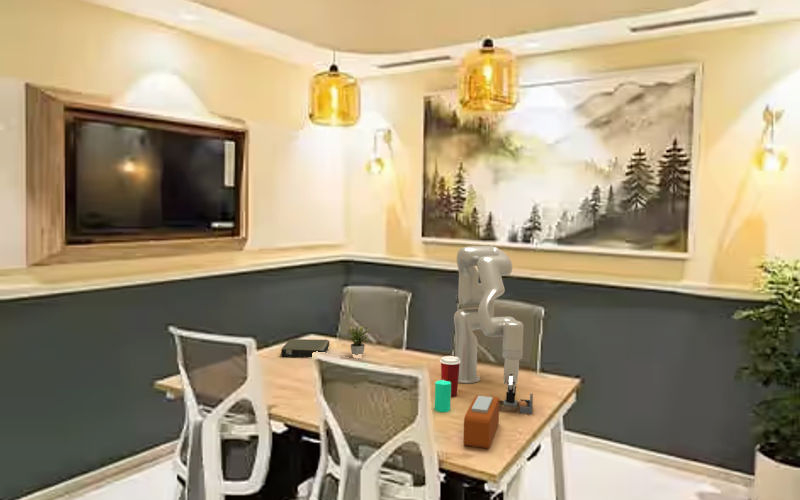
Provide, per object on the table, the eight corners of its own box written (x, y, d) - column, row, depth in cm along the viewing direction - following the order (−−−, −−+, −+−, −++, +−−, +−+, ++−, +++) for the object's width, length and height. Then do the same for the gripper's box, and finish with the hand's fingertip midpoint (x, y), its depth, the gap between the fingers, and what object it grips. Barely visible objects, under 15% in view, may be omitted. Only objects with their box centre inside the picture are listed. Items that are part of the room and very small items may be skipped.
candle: (445, 413, 224) (446, 381, 223) (431, 410, 227) (432, 379, 226) (453, 408, 229) (454, 377, 228) (439, 405, 232) (440, 375, 231)
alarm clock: (475, 421, 217) (476, 390, 216) (498, 423, 215) (499, 392, 214) (463, 447, 194) (463, 413, 193) (488, 450, 192) (489, 416, 191)
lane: (472, 408, 230) (472, 404, 229) (474, 401, 237) (474, 397, 237) (518, 412, 226) (518, 408, 226) (518, 405, 233) (519, 401, 233)
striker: (503, 409, 228) (504, 385, 228) (504, 405, 233) (504, 381, 232) (516, 410, 227) (517, 386, 227) (517, 406, 232) (518, 382, 231)
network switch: (284, 347, 317) (284, 338, 317) (329, 347, 320) (329, 338, 319) (280, 359, 294) (280, 349, 293) (328, 359, 296) (329, 349, 296)
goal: (519, 413, 225) (519, 400, 224) (520, 405, 234) (520, 392, 233) (532, 414, 224) (532, 401, 223) (532, 406, 233) (532, 393, 232)
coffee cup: (461, 392, 248) (462, 356, 247) (456, 398, 240) (457, 361, 239) (442, 390, 251) (442, 354, 249) (436, 396, 243) (437, 359, 241)
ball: (517, 402, 228) (526, 401, 227) (517, 400, 231) (526, 398, 230) (519, 411, 228) (528, 410, 227) (519, 408, 231) (528, 407, 230)
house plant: (371, 362, 291) (371, 328, 290) (342, 361, 291) (343, 328, 290) (373, 354, 305) (373, 322, 304) (345, 353, 306) (346, 322, 304)
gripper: (503, 347, 237) (502, 391, 239) (501, 358, 221) (499, 405, 222) (523, 348, 236) (521, 393, 237) (521, 360, 219) (520, 407, 220)
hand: (510, 398), depth 230 cm, fingers open, 7 cm apart
